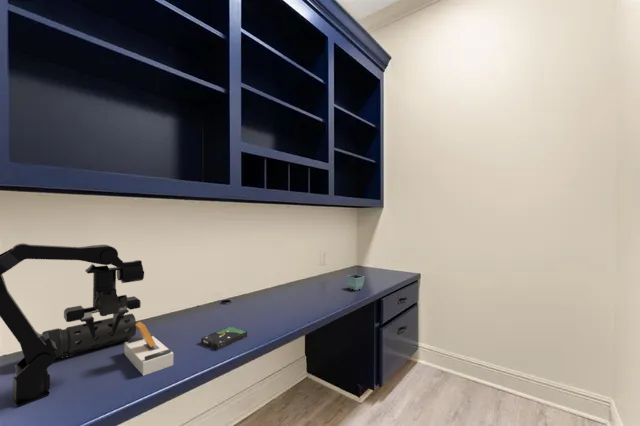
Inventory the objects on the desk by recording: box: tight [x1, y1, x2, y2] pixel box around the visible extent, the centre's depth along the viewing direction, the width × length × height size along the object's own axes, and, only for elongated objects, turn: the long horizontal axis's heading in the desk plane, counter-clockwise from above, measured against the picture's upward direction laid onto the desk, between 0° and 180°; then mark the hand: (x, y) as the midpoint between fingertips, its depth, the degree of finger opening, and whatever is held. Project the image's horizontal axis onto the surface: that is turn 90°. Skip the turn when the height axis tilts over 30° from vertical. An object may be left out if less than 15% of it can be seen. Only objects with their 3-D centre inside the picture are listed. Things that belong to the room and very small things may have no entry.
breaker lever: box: [135, 321, 156, 349], centre depth 102 cm, size 2×6×9 cm, turn 47°
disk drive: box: [200, 326, 248, 351], centre depth 119 cm, size 10×3×15 cm
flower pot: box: [346, 274, 365, 291], centre depth 200 cm, size 9×9×9 cm
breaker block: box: [123, 333, 174, 376], centre depth 102 cm, size 9×20×5 cm, turn 47°
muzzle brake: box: [39, 313, 137, 359], centre depth 108 cm, size 10×28×10 cm, turn 139°
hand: (103, 335), depth 93 cm, fingers open, 5 cm apart
